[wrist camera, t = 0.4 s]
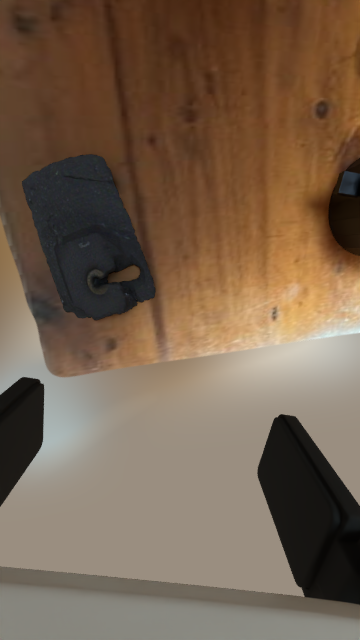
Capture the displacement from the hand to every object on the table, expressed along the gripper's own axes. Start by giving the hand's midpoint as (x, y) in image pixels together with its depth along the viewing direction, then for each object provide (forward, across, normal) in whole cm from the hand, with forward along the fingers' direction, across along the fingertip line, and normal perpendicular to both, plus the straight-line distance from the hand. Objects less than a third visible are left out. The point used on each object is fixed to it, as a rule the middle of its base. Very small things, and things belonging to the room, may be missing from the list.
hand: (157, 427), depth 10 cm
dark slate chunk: (+31, +13, -6) cm, 34 cm away
